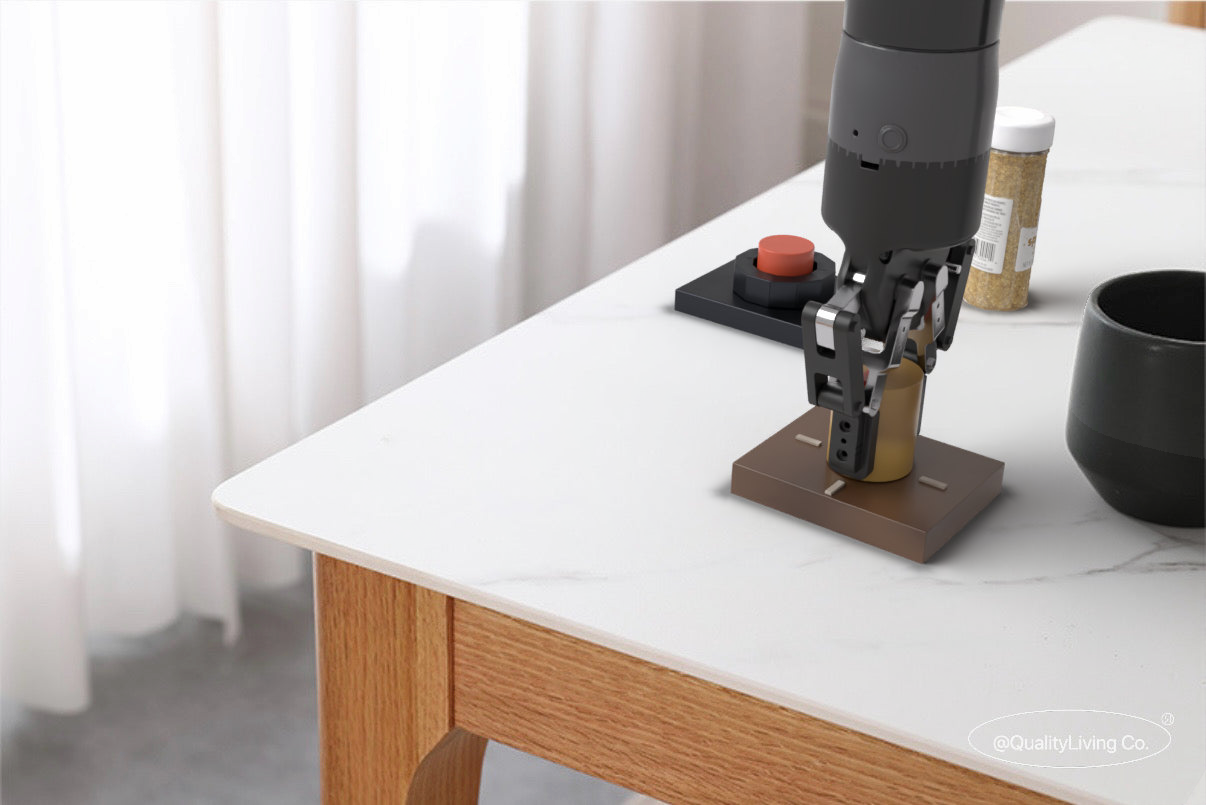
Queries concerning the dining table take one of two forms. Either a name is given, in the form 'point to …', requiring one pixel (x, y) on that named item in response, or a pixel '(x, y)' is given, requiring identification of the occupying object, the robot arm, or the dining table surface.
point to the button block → (758, 297)
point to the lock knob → (896, 422)
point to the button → (785, 255)
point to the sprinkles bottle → (1010, 209)
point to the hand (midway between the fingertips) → (874, 452)
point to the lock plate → (869, 489)
